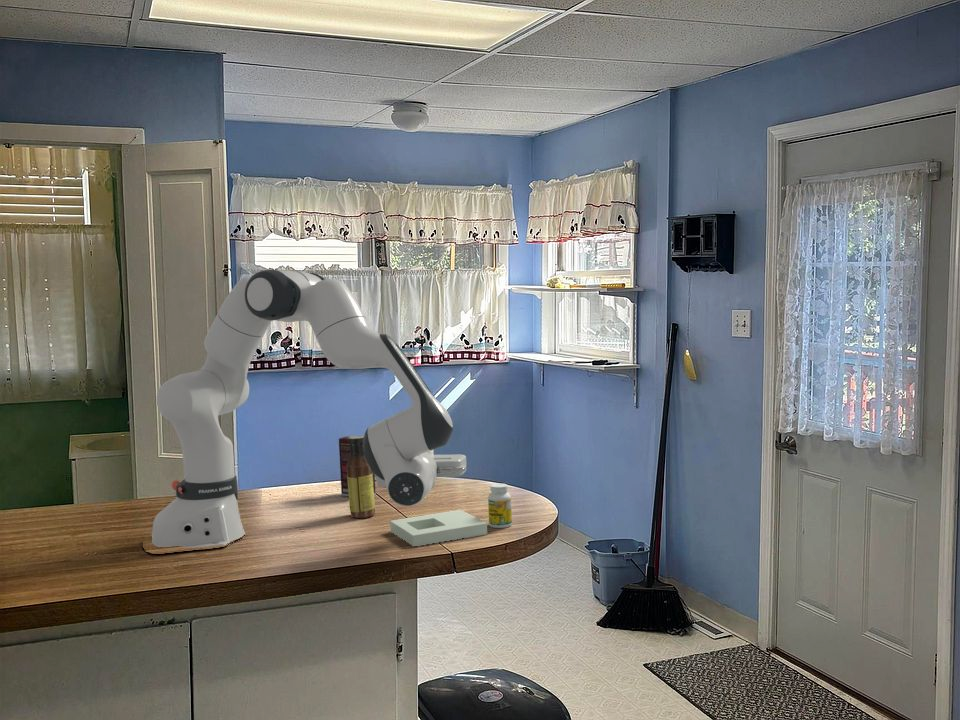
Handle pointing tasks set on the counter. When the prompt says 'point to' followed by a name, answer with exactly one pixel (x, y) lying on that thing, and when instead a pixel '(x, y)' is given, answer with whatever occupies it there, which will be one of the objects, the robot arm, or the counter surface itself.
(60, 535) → the counter surface
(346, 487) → the supplement box
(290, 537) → the counter surface
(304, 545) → the counter surface
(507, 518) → the supplement bottle
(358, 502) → the sauce bottle
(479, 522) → the socket board
